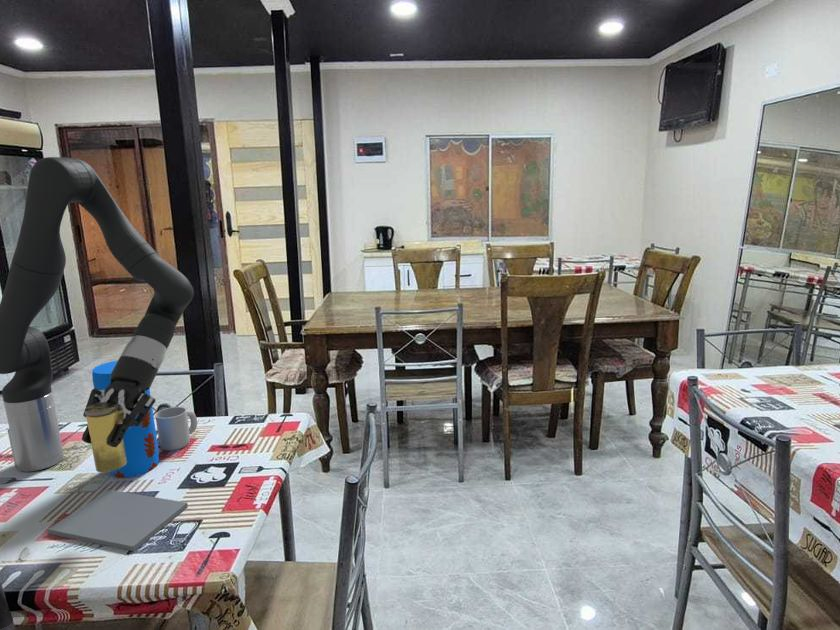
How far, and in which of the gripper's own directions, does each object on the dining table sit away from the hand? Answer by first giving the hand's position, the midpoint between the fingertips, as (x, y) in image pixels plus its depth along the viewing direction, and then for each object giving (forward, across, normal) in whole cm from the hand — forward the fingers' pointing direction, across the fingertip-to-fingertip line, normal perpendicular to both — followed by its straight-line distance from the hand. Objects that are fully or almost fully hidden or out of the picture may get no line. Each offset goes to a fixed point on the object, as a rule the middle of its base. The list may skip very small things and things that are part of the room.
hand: (99, 443), depth 97 cm
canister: (+3, 0, +5) cm, 6 cm away
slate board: (+11, 0, +14) cm, 17 cm away
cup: (-11, -12, +36) cm, 39 cm away
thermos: (-2, -14, +26) cm, 30 cm away
